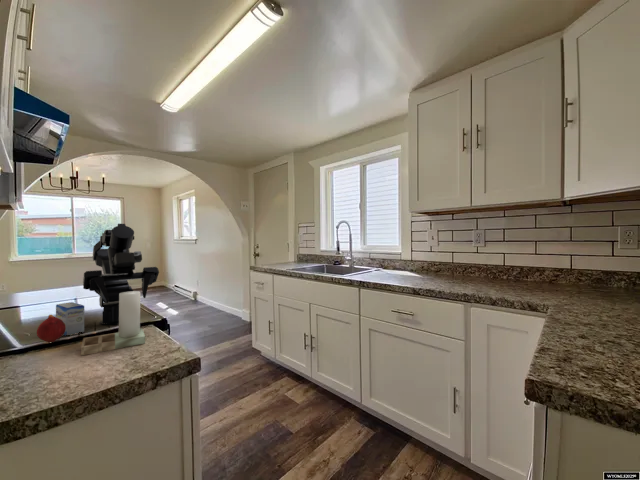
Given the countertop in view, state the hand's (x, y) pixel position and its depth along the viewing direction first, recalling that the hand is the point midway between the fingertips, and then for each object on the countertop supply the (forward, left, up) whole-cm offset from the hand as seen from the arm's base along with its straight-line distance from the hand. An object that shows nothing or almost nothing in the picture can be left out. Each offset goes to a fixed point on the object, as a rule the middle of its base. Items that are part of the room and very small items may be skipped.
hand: (126, 299), depth 81 cm
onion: (+7, -17, -12) cm, 22 cm away
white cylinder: (+2, +3, -9) cm, 10 cm away
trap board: (+5, +1, -11) cm, 12 cm away
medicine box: (-1, -21, -12) cm, 24 cm away
